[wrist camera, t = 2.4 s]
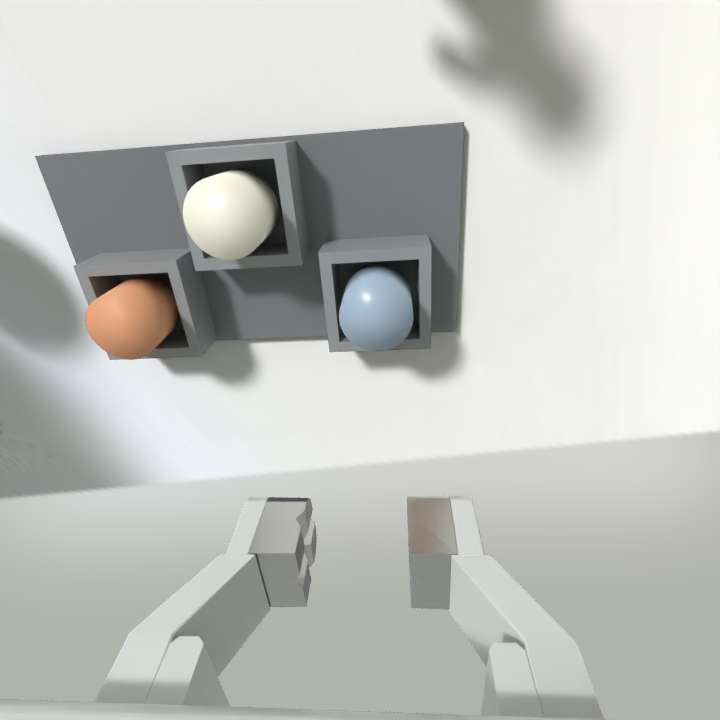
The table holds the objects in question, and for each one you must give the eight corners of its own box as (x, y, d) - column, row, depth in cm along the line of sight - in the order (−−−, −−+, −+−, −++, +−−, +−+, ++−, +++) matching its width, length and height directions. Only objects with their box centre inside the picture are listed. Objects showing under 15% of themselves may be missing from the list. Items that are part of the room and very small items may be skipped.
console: (111, 341, 29) (83, 363, 26) (41, 155, 23) (-3, 160, 21) (455, 327, 27) (462, 350, 24) (462, 122, 22) (472, 122, 19)
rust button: (129, 336, 26) (100, 360, 23) (108, 277, 24) (74, 296, 22) (187, 333, 26) (164, 358, 23) (170, 274, 24) (144, 293, 21)
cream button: (216, 245, 23) (194, 262, 21) (199, 171, 21) (173, 179, 19) (283, 241, 23) (269, 257, 20) (272, 166, 21) (255, 173, 19)
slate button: (347, 327, 25) (342, 352, 22) (341, 265, 23) (335, 284, 21) (411, 325, 25) (413, 349, 22) (410, 261, 23) (412, 280, 20)
